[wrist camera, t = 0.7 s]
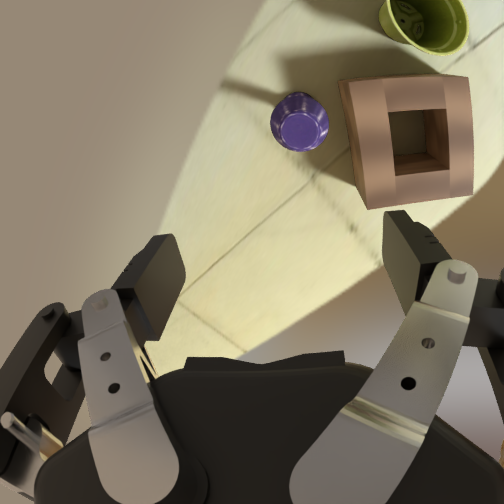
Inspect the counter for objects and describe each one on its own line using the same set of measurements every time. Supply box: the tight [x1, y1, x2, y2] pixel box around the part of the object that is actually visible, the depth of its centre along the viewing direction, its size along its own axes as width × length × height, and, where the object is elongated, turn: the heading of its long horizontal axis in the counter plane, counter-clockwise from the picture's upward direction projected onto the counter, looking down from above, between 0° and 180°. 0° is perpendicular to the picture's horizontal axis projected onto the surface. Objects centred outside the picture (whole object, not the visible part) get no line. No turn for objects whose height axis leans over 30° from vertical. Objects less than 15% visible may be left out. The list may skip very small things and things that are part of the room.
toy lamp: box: [270, 92, 329, 152], centre depth 26 cm, size 5×5×17 cm
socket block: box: [338, 74, 474, 210], centre depth 30 cm, size 14×14×7 cm
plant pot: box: [379, 0, 469, 56], centre depth 21 cm, size 9×9×9 cm
